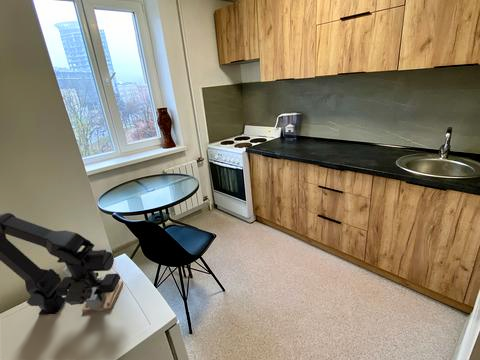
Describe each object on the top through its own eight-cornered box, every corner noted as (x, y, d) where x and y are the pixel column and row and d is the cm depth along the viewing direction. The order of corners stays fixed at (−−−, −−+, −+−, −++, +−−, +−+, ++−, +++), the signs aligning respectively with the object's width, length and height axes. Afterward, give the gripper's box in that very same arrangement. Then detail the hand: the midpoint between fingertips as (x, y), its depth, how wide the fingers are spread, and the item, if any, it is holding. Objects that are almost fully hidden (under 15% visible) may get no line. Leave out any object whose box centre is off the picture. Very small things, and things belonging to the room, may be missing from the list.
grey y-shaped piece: (89, 281, 99) (82, 266, 95) (86, 284, 98) (79, 270, 94) (73, 280, 100) (65, 266, 96) (70, 284, 98) (61, 269, 95)
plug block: (89, 309, 86) (84, 300, 84) (97, 296, 91) (92, 287, 88) (100, 309, 86) (95, 299, 84) (106, 295, 91) (102, 286, 88)
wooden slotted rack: (82, 311, 87) (77, 302, 85) (97, 285, 97) (92, 275, 94) (111, 309, 87) (106, 299, 85) (123, 283, 97) (119, 273, 94)
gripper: (34, 292, 73) (56, 325, 81) (98, 287, 73) (114, 320, 81) (57, 263, 83) (75, 294, 91) (113, 259, 83) (127, 291, 90)
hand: (97, 300), depth 88 cm, fingers closed on plug block, 3 cm apart
